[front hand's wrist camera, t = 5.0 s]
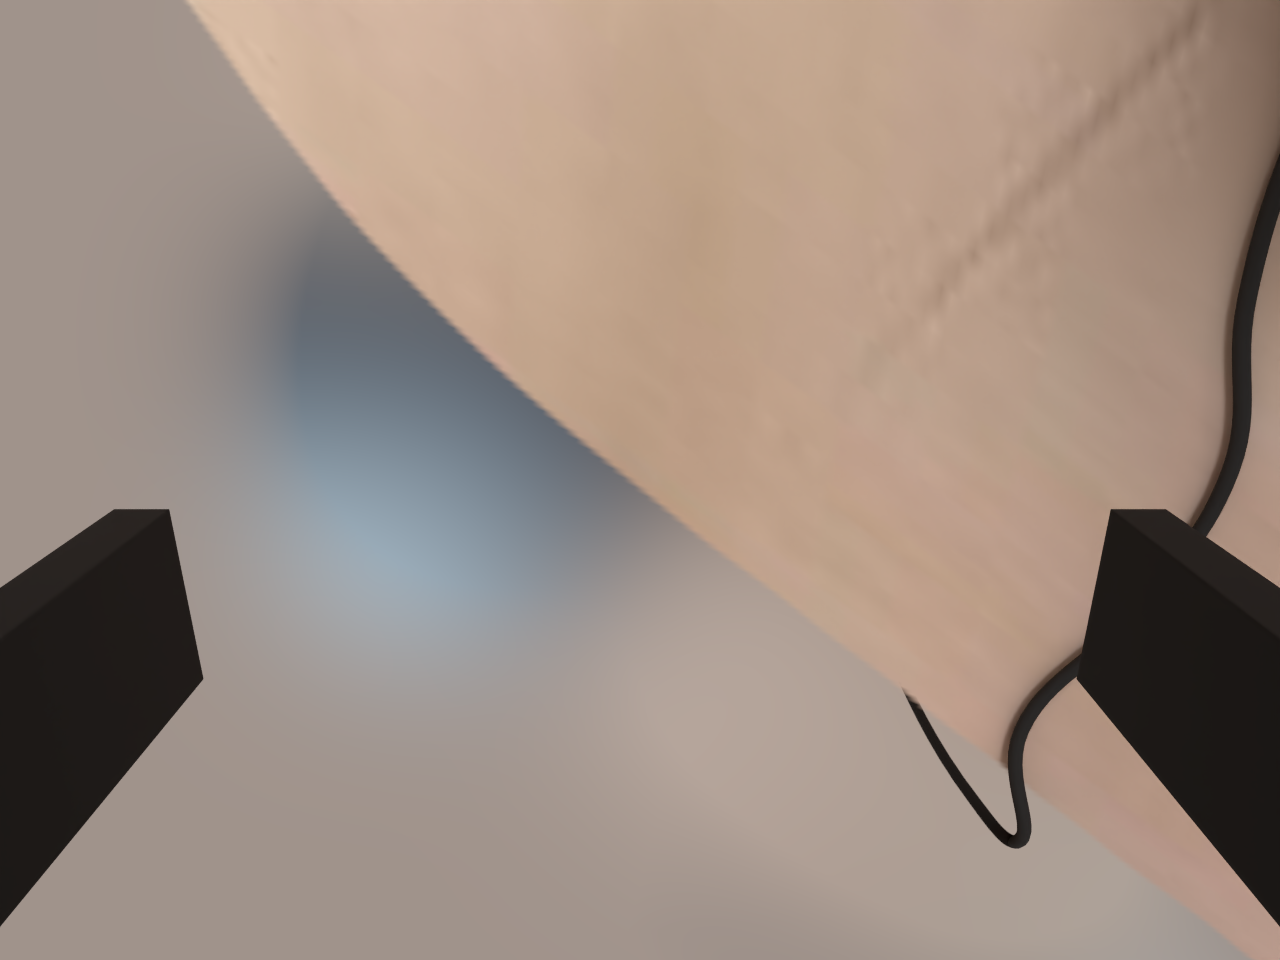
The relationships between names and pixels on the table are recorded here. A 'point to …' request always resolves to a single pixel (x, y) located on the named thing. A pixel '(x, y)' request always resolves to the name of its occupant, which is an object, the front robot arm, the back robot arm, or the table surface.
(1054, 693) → the front robot arm
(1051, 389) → the table surface
